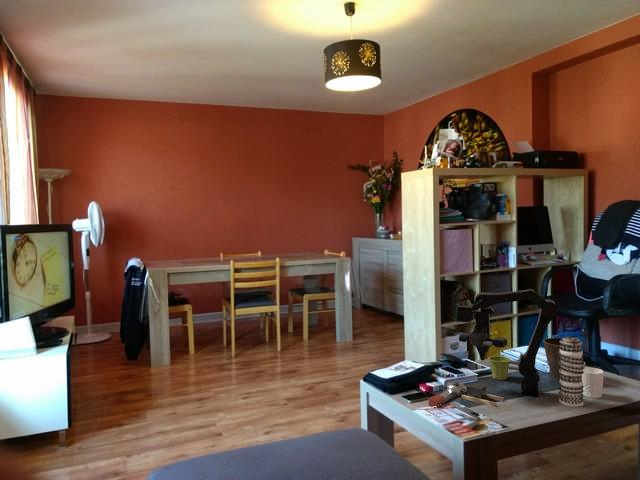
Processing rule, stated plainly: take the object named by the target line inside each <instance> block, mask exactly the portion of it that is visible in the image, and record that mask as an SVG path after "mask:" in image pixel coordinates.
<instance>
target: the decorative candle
mask: <svg viewBox="0 0 640 480" xmlns="http://www.w3.org/2000/svg"><path fill="white" fill-rule="evenodd" d="M562 338H563V339H562V340H560V341H559V342H560V351H558V354H559V355H558V358H559V360H558V362H559V364H558V366H559V372H560V379H559V383H558V386H559V387H558V389H559V391H558V399H559V400H558V402H559V403H561V404H562V405H565V406H568V407H576V408H577V407H582V406H583V405H584V401H585V399H584V397H585V396H584V395H583V392H584V391H583V388H584V386H583V381H582V375H583V373H584V372H583V371H582V370H583V369H584V368H585V367H584V366H583V365H585V362H584V361H585V358H584V357H583V344H584V343H583V341H581V340H580V339H579V338H578V337H575V336H564V337H562ZM560 365H561V366H560Z"/></svg>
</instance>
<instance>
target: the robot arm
mask: <svg viewBox="0 0 640 480" xmlns="http://www.w3.org/2000/svg"><path fill="white" fill-rule="evenodd" d="M521 301H530V302H531V303H533V304H534V305H535V306H537V307H538V308H539V312H538V319H537V322H536V324H535V328H534V330H533V333H532V336H531V338H530V341H529V344H528V346H527V348H526V351H525V352H524V353H522V352H520V353H519V358H518V359H517V361H516V362H517V364H518V365H517V367H518V368H519V370H518V372H519V374H520V375H521V376H522V378H521V381H520V394H521V395H525V396H529V397H533V398H537V397H539V396H540V395H541V394H543V391H541V388H542V385H541V384H542V383H541V380H542V379H541V377H540V373H539V371H538V369H537V368H536V362H537V355H538V352H539V349H540V348H541V344H542V342H543V341H544V336H545V334H546V331H547V329H548V326H549V324H550V323H551V322H552V320H553V319H554V318H555V316H556V314H557V313H558V306H557V304H556V302H555V301H554V300H552V299H549V298H548V299H547V298H545V297H544V296H542V295H541V294H539V293H538V292H537V291H535V290H534V289H532V288H528V289H525V290H524V289H522V290H514V291H507V292H499V293H497V292H479V293H477V294H476V295H475V299H474V302H473V303H472V304H471V305H470V306H466V305H465V306H463V305H457V306H456V307H457V310H456V311H457V312H456V322H457V323H472V322H473V321H474V320H475V321H474V322H475V323H474V324H475V325H474V326H473V331H471V332H463V333H461V334H459V336H458V341H459V342H463V343H466V342H467V341H469V342H470V344H471V346H474V347H475V348H476V350H477V352H478V354H479V358H480V360H481V361H485V358H486V356H487V353H488V352H489V350H490V348H491V347H494V348H500V349H502V348H505V347H507V346H508V339H507V338H506V337H500V336H499V337H495V338H492V335H491V334H490V333H491V332H490V331H491V328H492V324H491V322H490V321H491V319H490V318H491V317H490V316H491V314H495V310H494V309H493V306H495V305H497V304H498V305H499V304H502V303H503V304H504V303H513V302H521Z"/></svg>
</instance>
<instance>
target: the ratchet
mask: <svg viewBox="0 0 640 480" xmlns="http://www.w3.org/2000/svg"><path fill="white" fill-rule="evenodd" d="M465 393H467V391H466V386H465V384H464V383H463V382H457V381H452V382H451V381H450V382H448V383H447V384H446V390H445V391H443V392H442V393H439V394H435V395H433V396H432V397H429V398H428V406H429V407H433V406H438V405H440V404H442V405H443V404H445V403H446V402H447V401H449V400H451V399H453V398H454V397H461V395H466V394H465ZM440 406H441V405H440ZM438 407H439V406H438Z"/></svg>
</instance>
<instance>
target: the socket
mask: <svg viewBox="0 0 640 480" xmlns="http://www.w3.org/2000/svg"><path fill="white" fill-rule="evenodd" d="M465 387H466V391H467V392H466V396H470V397H475V398H479V399H483V400H487V398H486V394H487V385H484V384H479V383H474V382H471V383H469V384H467V385H466V386H465Z"/></svg>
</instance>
